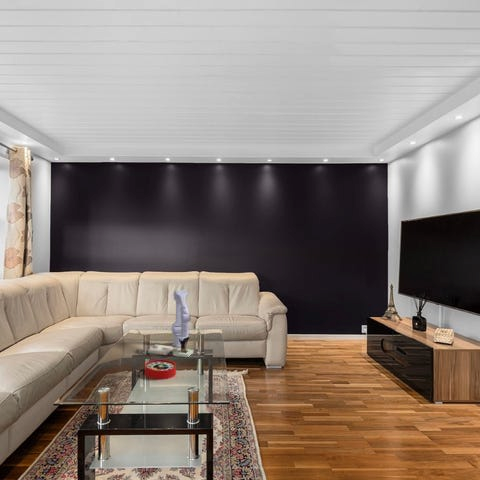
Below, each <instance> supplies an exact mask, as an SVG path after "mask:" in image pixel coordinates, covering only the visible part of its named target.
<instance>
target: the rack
mask: <svg viewBox="0 0 480 480" xmlns="http://www.w3.org/2000/svg"><path fill="white" fill-rule="evenodd" d="M194 352H195V351H194V349H190V348H186V353H181V347H177V349H175V351H173V352H172V356H175V357H180V358H181V357H182V358H187V357H189V356H190V355H191V354H192V355H193V354H194ZM192 355H191V356H192ZM191 356H190V357H191ZM190 357H189V358H190Z"/></svg>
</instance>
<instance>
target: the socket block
mask: <svg viewBox="0 0 480 480" xmlns="http://www.w3.org/2000/svg"><path fill="white" fill-rule="evenodd" d="M156 345H157V346H159V347H158V348H157V349H156V348H154V347H153V346H151V347H150V348H149V349H148V351H147V353H149V354H154V355H155V354H156V355H162V354H163V355H164V356H167V355H168V354H169V353H170V352H171V351H173V349H174V346H171V345H163V344H156Z"/></svg>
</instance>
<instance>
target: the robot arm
mask: <svg viewBox="0 0 480 480" xmlns="http://www.w3.org/2000/svg"><path fill="white" fill-rule="evenodd" d="M187 297H188V291H187V289H184V290H183V289H182V290H181V289H179V290H176V289H175V290H173V301H175V305H176V306H175V322H173V323H172V325H171V334H173V338H172V339H173V341H172V344H171V345H170V346H171V347H177V348H181V349H184V348H185V343H186V342H187V343H188V342H189V340H190V336H189V334H190V333H189V331H190V330H189V328H190V322H191V314H190V313H191V312H189V308H188V307H189V306H188V305H187V304H186V300H187Z"/></svg>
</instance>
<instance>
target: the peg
mask: <svg viewBox="0 0 480 480" xmlns="http://www.w3.org/2000/svg"><path fill="white" fill-rule="evenodd" d="M187 344H188V342H186V343H185V348H184V349H181V353H186V349H187Z"/></svg>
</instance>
